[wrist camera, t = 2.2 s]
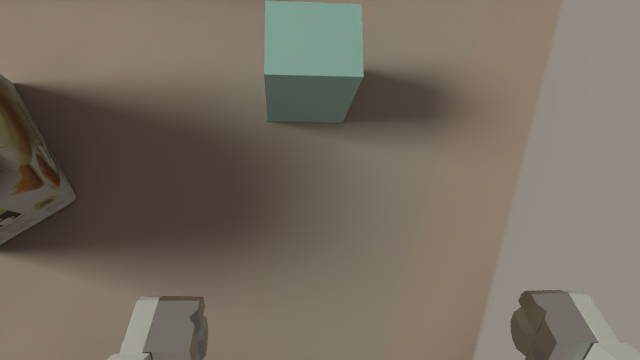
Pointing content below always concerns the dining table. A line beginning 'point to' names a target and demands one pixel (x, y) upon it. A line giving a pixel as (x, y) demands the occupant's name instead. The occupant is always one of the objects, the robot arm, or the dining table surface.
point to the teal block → (312, 60)
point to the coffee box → (26, 169)
